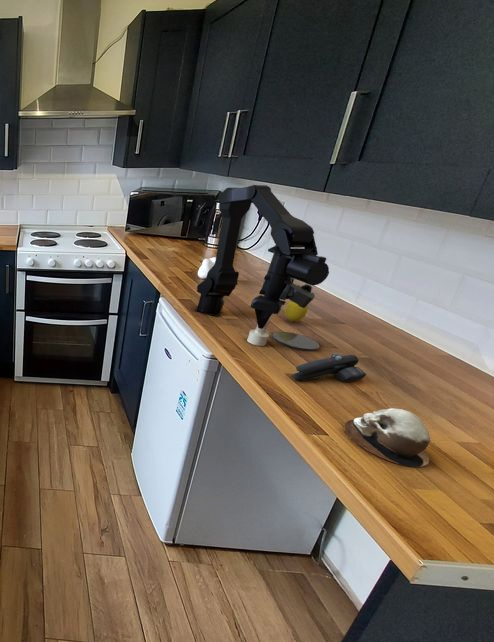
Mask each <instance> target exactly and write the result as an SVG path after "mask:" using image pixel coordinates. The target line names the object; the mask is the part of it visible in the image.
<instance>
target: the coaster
mask: <svg viewBox="0 0 494 642" xmlns="http://www.w3.org/2000/svg"><path fill="white" fill-rule="evenodd" d="M271 338H272V340H274V341H275V342H276V343H278V344H280V345H281V346H285V347H288V348H291V349H294V350H299V351H305V352H313V351H318V350H319V349H320V344H319V343H318V342H317V341H316V340H314V339H312V338H310V337H308V336H305V335H303V334H299V333H295V332H290V331H276V332H274V333H272V337H271Z"/></svg>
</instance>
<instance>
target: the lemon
mask: <svg viewBox="0 0 494 642" xmlns="http://www.w3.org/2000/svg"><path fill="white" fill-rule="evenodd" d="M307 313H308V305H307V306H306V307H305V308H302V307H300V306H298V304H296V303H294V302H293V301H291V300H289V302H288V303H287V305H286V307H285V308H284V316H285V318H286V319H287V320H289V322H290V323H294V322H298V321H302V320H303V319H304V318H305V317H306V315H307Z"/></svg>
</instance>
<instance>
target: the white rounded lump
mask: <svg viewBox="0 0 494 642" xmlns="http://www.w3.org/2000/svg"><path fill="white" fill-rule="evenodd" d="M215 260H216V256H213V257H210V258H204V259H203V260H202V263H201V265H200V267H199V269H198V271H197V276H198V278H199V279H201V280H206V277H207V273H208V271H209V270H210V269H211V268H212V267H213V266H214V264H215Z"/></svg>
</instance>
